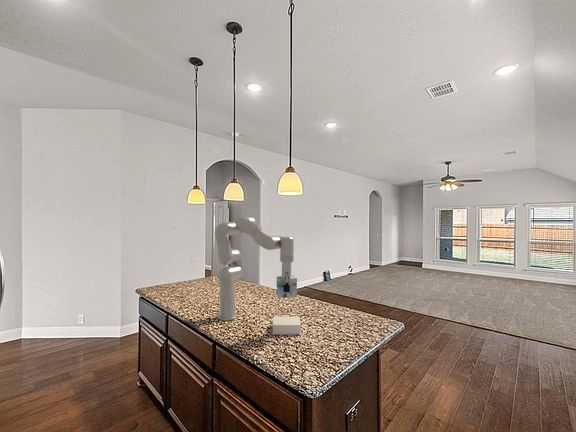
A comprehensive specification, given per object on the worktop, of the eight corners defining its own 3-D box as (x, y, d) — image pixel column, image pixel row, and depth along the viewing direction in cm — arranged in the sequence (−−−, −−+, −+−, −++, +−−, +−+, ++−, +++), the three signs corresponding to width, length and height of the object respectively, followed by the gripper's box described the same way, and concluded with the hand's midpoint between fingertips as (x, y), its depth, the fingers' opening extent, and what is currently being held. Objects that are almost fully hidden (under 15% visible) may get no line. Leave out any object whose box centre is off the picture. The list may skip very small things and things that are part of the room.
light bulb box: (278, 298, 153) (278, 278, 153) (275, 295, 159) (276, 276, 159) (297, 297, 155) (297, 277, 156) (293, 294, 162) (294, 275, 162)
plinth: (273, 325, 163) (273, 316, 163) (299, 325, 164) (299, 316, 164) (272, 334, 150) (272, 325, 150) (300, 334, 151) (300, 325, 151)
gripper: (280, 256, 166) (280, 286, 166) (279, 261, 149) (279, 294, 149) (292, 256, 166) (292, 286, 166) (294, 261, 149) (293, 294, 149)
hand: (286, 289), depth 157 cm, fingers closed on light bulb box, 7 cm apart
